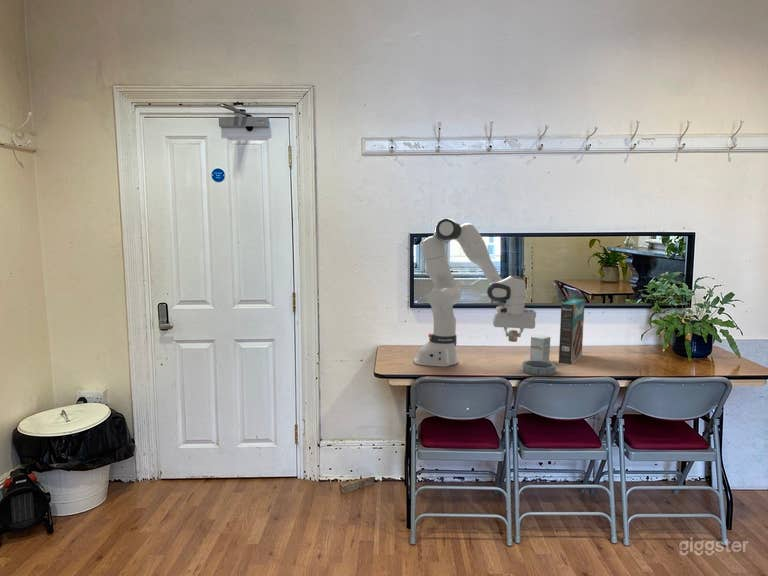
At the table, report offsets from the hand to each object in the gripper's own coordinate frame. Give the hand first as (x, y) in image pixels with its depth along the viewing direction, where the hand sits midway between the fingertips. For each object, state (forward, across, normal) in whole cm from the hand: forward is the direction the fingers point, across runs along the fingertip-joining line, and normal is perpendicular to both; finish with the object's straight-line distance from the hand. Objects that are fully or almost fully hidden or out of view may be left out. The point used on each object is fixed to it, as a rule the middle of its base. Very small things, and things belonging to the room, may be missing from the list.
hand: (513, 336), depth 263 cm
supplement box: (+14, -16, -9) cm, 23 cm away
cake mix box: (+14, -33, -14) cm, 38 cm away
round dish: (+14, -11, +11) cm, 21 cm away
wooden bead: (+2, 0, 0) cm, 2 cm away
